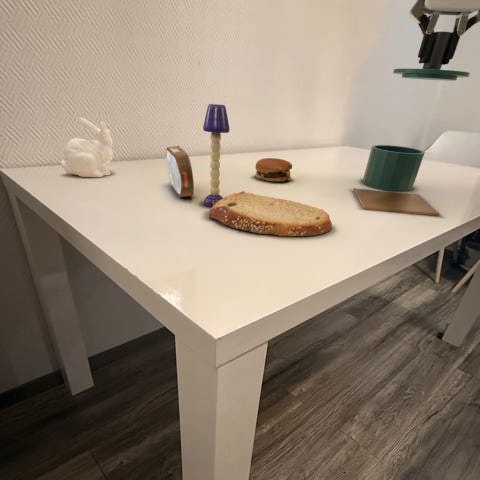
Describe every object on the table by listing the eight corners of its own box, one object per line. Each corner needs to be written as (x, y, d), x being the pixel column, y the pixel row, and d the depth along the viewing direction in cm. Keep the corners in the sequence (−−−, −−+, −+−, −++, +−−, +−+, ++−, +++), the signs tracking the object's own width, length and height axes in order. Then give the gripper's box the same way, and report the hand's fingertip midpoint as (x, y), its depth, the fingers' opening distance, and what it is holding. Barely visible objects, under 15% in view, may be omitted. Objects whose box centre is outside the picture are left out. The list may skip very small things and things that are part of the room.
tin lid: (451, 81, 69) (466, 39, 65) (479, 80, 58) (499, 29, 54) (385, 77, 70) (396, 35, 66) (401, 75, 59) (415, 25, 55)
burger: (255, 173, 90) (257, 154, 87) (289, 176, 90) (292, 157, 87) (253, 182, 82) (255, 161, 79) (291, 185, 82) (294, 164, 79)
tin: (195, 202, 66) (194, 155, 61) (179, 202, 65) (177, 155, 60) (180, 183, 78) (178, 142, 73) (166, 183, 77) (163, 142, 72)
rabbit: (115, 170, 84) (107, 115, 77) (121, 179, 78) (112, 119, 71) (63, 171, 80) (49, 113, 73) (63, 181, 73) (48, 118, 66)
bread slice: (340, 230, 57) (345, 209, 55) (254, 248, 49) (256, 224, 47) (277, 201, 69) (279, 183, 67) (200, 212, 61) (199, 191, 59)
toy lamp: (203, 200, 68) (202, 102, 58) (226, 200, 68) (229, 104, 58) (203, 207, 64) (202, 104, 54) (228, 208, 64) (231, 106, 54)
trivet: (417, 196, 80) (417, 194, 79) (438, 216, 67) (439, 213, 67) (353, 190, 81) (354, 188, 80) (363, 209, 69) (364, 206, 68)
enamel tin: (405, 181, 92) (416, 147, 87) (418, 193, 82) (431, 155, 77) (359, 177, 93) (368, 143, 88) (367, 188, 83) (377, 151, 78)
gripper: (521, -74, 54) (470, 67, 65) (418, -76, 56) (384, 62, 67) (549, -93, 48) (487, 65, 59) (432, -96, 50) (392, 59, 60)
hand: (433, 62), depth 63 cm, fingers closed on tin lid, 3 cm apart
